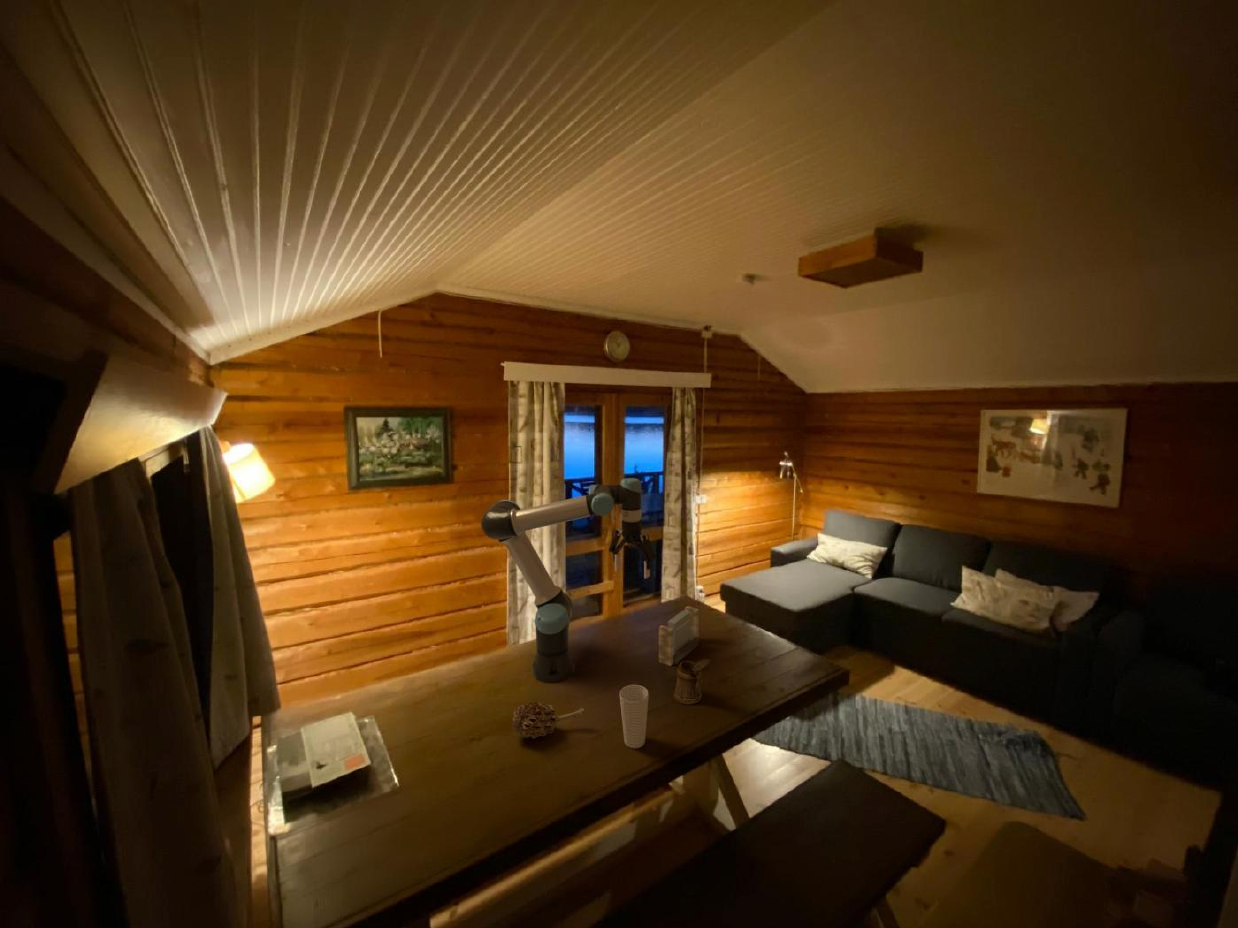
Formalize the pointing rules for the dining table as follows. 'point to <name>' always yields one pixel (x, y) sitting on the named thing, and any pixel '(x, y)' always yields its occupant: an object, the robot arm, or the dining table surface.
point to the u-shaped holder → (667, 640)
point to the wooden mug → (689, 682)
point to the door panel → (680, 630)
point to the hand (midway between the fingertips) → (632, 573)
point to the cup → (634, 714)
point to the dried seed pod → (538, 719)
